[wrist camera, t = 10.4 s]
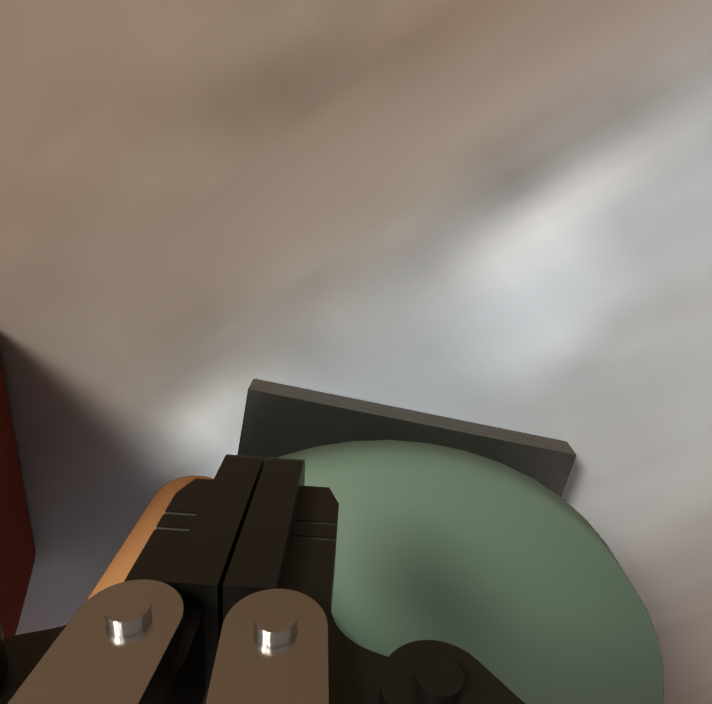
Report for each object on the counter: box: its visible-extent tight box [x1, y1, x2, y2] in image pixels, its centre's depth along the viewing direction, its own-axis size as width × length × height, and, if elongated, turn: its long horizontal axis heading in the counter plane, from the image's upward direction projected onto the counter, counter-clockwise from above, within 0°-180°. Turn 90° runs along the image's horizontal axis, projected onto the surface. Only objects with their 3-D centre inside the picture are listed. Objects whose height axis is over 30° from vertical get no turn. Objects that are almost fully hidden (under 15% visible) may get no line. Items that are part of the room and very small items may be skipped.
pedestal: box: [238, 379, 576, 497], centre depth 24 cm, size 14×14×7 cm
